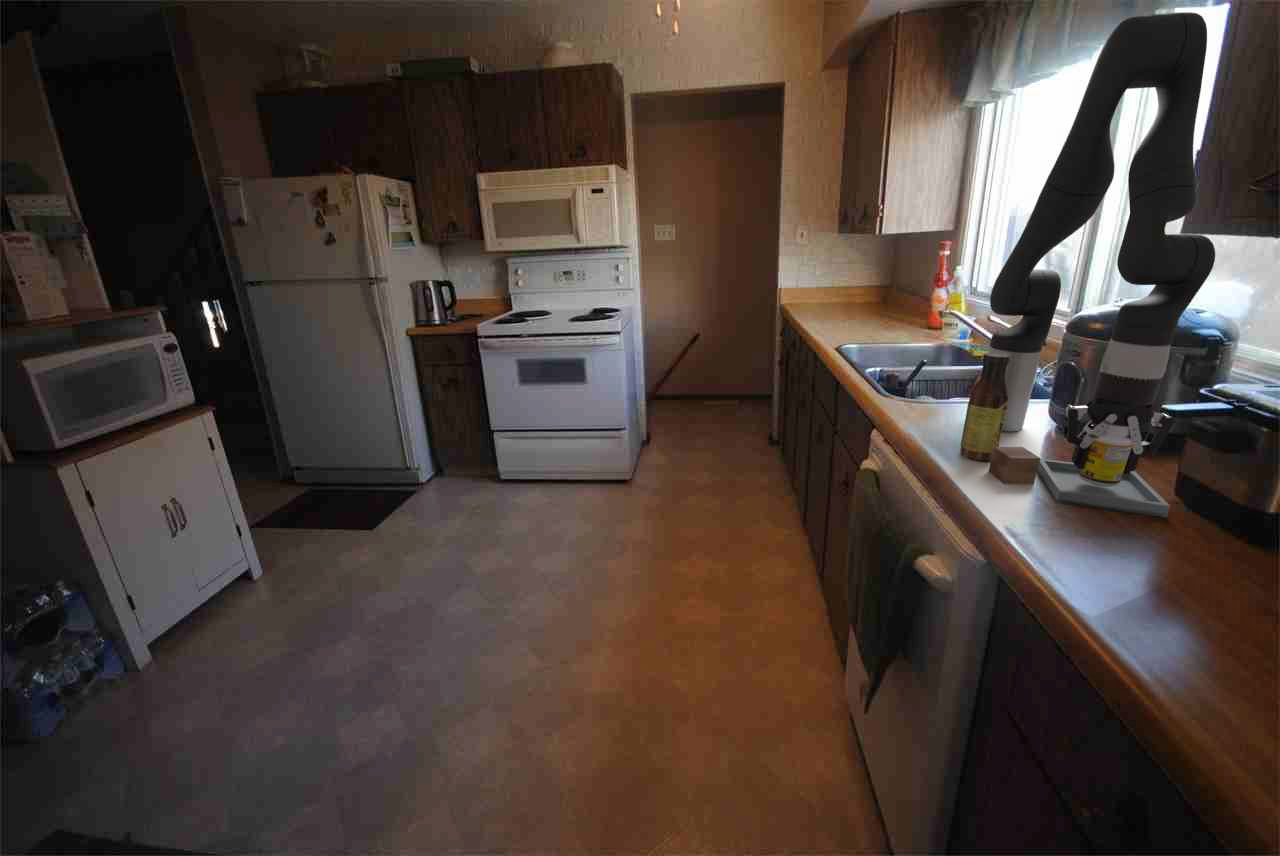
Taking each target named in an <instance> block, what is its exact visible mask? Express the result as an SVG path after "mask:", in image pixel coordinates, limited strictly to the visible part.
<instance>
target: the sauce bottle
mask: <svg viewBox="0 0 1280 856" xmlns="http://www.w3.org/2000/svg"><path fill="white" fill-rule="evenodd" d="M1008 363H1009V355H1006V354H1001V353H988V352H987V353H984V354H983V357H982V369H981V373H980V378H979V380H978V381H977V382H975V384H974V385H973V386H972V387H971V390H970V394H969V400H968V403H967V408H966V413H965V419H964V424H963V429H962V436H961V442H960V454H961V455H962V456H963V457H965V458H966V459H968V460H969V459H970V460H974V461H979V462H989V461H990V462H991V457H992V453H993V449H994V447H1000V446H999V445H1000V444H1001V443H1000V442H1001V437H1002V432H1003V431H1002V429H1003V423H1004V419H1005V414H1006V409H1007V404H1008V394H1007V388H1006V382H1005V373H1006V367H1007V364H1008Z"/></svg>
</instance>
